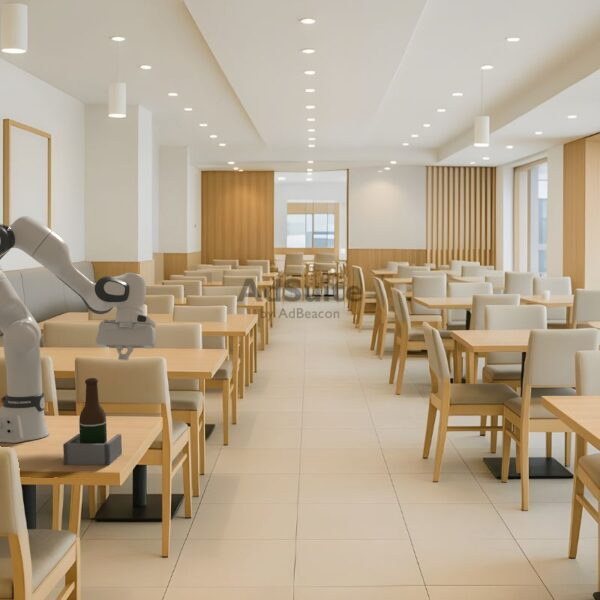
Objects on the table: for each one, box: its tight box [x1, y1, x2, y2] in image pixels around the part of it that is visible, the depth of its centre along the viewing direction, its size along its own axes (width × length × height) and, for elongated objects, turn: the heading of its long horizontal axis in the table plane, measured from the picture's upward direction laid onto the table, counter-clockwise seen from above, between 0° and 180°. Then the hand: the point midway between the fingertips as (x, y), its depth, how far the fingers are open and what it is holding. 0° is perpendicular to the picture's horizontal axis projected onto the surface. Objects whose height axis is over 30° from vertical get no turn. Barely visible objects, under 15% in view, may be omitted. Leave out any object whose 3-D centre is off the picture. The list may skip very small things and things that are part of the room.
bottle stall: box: [62, 433, 123, 466], centre depth 237 cm, size 13×12×6 cm
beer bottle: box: [78, 377, 108, 444], centre depth 237 cm, size 8×8×24 cm
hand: (123, 359), depth 264 cm, fingers closed
